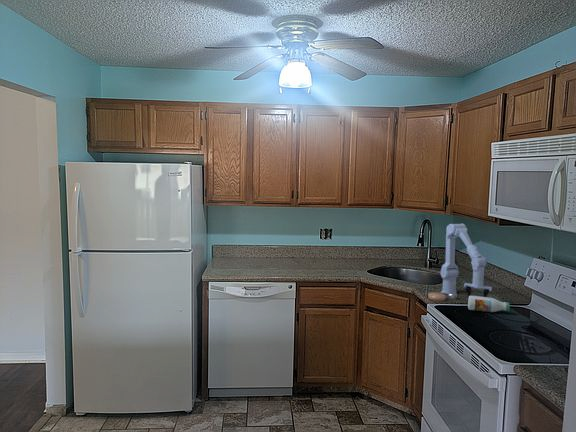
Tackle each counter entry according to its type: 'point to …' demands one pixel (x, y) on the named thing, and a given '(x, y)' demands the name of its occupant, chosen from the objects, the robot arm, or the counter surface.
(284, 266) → the counter surface
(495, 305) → the milk bottle
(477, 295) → the walnut cube
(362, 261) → the counter surface
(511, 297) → the counter surface
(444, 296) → the tan round disc
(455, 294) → the grey tin
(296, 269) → the counter surface
